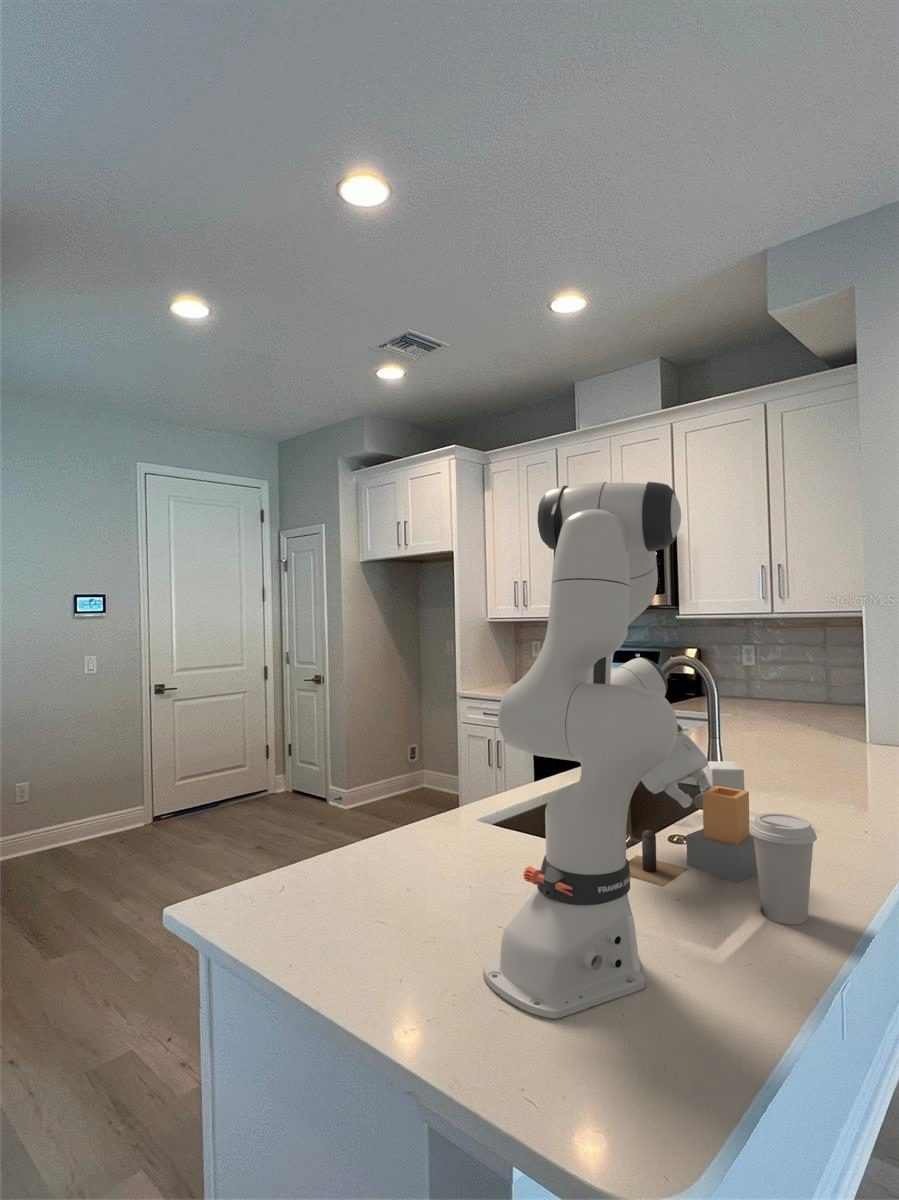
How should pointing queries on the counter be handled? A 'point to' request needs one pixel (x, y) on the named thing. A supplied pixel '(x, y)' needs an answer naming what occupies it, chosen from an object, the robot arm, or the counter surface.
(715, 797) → the sleeve
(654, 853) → the stand
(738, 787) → the skincare box
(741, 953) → the counter surface
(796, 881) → the coffee cup
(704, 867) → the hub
